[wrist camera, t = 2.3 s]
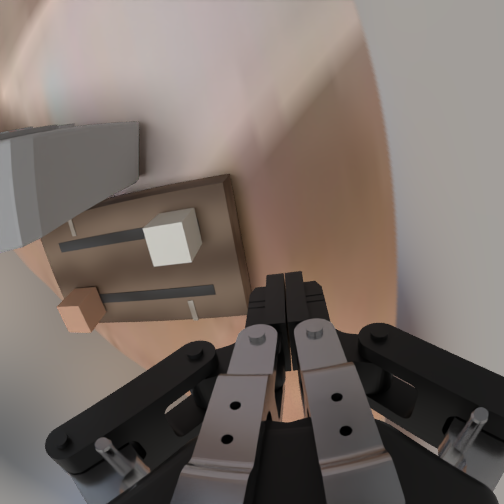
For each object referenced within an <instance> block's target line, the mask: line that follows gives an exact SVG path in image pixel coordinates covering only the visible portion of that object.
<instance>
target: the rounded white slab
mask: <svg viewBox="0 0 504 504" xmlns="http://www.w3.org/2000/svg"><path fill="white" fill-rule="evenodd" d="M138 179H139V122H117V123H104V124H92V125H82V126H74V124H67V125H59V126H57V125H50V126H43V127H36V128H33V127H27V128H21V129H15V130H10V131H5V132H0V253H2V252H5V251H10V250H13V249H17V248H21V247H24V246H26V245H28V244H30V243H32V242H34V241H36V240H38V239H40V238H42V237H44V236H45V235H47V234H48V233H50V232H51V231H53V230H54V229H56V228H57V227H59V226H61V225H62V224H64V223H65V222H67V221H69V220H70V219H72V218H74V217H75V216H77V215H79V214H80V213H82V212H84V211H85V210H87V209H89V208H91V207H92V206H94V205H96V204H97V203H99V202H101V201H103V200H105V199H106V198H108V197H110V196H112V195H114V194H115V193H117V192H119V191H121V190H123V189H125V188H127V187H128V186H130V185H132V184H134V183H136V181H137V180H138Z"/></svg>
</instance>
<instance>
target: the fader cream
mask: <svg viewBox="0 0 504 504" xmlns="http://www.w3.org/2000/svg"><path fill="white" fill-rule="evenodd" d="M143 232H144V235H145V239H146V242H147V246H148V249H149V252H150V256H151V259H152V262H153V265H154V267H155V266H164V265H173V264H181V263H190V262H192V261H193V259H194V257H195V256H196V254H197V252H198V250H199V248H200V246H201V245H202V240H201V235H200V231H199V227H198V222H197V218H196V213H195V209H194V208H188V209H182V210H176V211H171V212H165V213H159V214H158V215H157V216H156V217H155V218H154V219H152V220H151V221H150V222H149V223H148V224H147V225H146V226H145V227H144V228H143Z"/></svg>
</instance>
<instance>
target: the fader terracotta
mask: <svg viewBox="0 0 504 504" xmlns="http://www.w3.org/2000/svg"><path fill="white" fill-rule="evenodd" d="M57 308H58V310H59V312H60V315H61V317H62V319H63V321H64V323H65V325H66V327H67V329H68V330H69V332H80V333H81V332H82V333H90V332H92V331H93V330H94V328H95V327H96V325H97V324H98V323H99V321H100V320H101V319H102V317H103V316H104V315H105V313H106V310H105V308H104V306H103V303H102V301H101V299H100V296H99V294H98V291H97V289H96V287H89V288H77V289H74V290H73V291H72V292H71V293H70V294H69V295H68V296H67V297H66V298H65V299H64V300H63V301H62V302H61V303H60V304H59V305H58V306H57Z"/></svg>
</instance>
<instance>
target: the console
mask: <svg viewBox="0 0 504 504" xmlns="http://www.w3.org/2000/svg"><path fill="white" fill-rule="evenodd" d="M188 208H194V209H195V213H196V218H197V222H198V227H199V231H200V235H201V240H202V245H201V246H200V248H199V250H198V252H197V254H196V256H195V257H194V259H193V261H192V262H190V263H181V264H173V265H164V266H155V267H154V265H153V262H152V259H151V256H150V252H149V249H148V246H147V242H146V239H145V235H144V232H143V228H144V227H145V226H146V225H147V224H148V223H149V222H150V221H151V220H152V219H154V218H155V217H156V216H157V215H158V214H159V213H165V212H171V211H176V210H182V209H188ZM41 241H42V244H43V247H44V250H45V252H46V255H47V258H48V260H49V263H50V266H51V268H52V271H53V273H54V276H55V278H56V281H57V283H58V285H59V288H60V290H61V292H62V295H63V297H64V299H65V298H66V297H67V296H68V295H69V294H70V293H71V292H72V291H73V290H74V289H77V288H89V287H96V289H97V291H98V294H99V296H100V299H101V301H102V303H103V306H104V308H105V310H106V313H105V315H104V316H103V317H102V319H101V320H100V321H99V323H105V322H143V321H166V320H185V319H193V320H199V319H201V318H215V317H228V316H240V315H247V311H248V304H249V297H250V294H251V293H252V291H251V286H250V281H249V275H248V270H247V265H246V259H245V254H244V249H243V243H242V238H241V232H240V227H239V222H238V216H237V211H236V205H235V200H234V194H233V189H232V183H231V178H230V174H225V175H219V176H213V177H208V178H202V179H197V180H191V181H186V182H181V183H175V184H170V185H165V186H161V187H156V188H151V189H146V190H142V191H137V192H133V193H128V194H124V195H120V196H116V197H111V198H107V199H105V200H103V201H101V202H99V203H97V204H96V205H94V206H92V207H91V208H89V209H87V210H85V211H84V212H82V213H80V214H79V215H77V216H75V217H74V218H72V219H70V220H69V221H67V222H65V223H64V224H62V225H61V226H59V227H57V228H56V229H54V230H53V231H51V232H50V233H48V234H47V235H45V236H44V237H42V238H41Z"/></svg>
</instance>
